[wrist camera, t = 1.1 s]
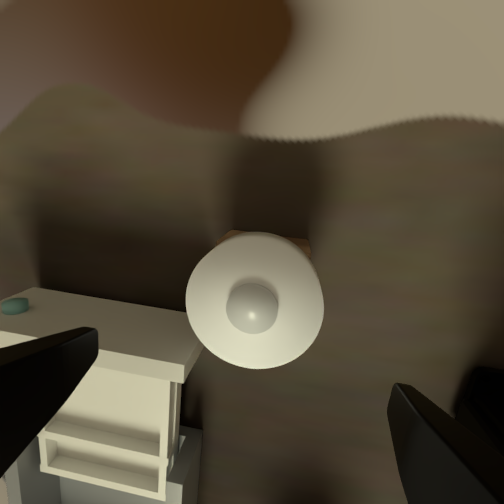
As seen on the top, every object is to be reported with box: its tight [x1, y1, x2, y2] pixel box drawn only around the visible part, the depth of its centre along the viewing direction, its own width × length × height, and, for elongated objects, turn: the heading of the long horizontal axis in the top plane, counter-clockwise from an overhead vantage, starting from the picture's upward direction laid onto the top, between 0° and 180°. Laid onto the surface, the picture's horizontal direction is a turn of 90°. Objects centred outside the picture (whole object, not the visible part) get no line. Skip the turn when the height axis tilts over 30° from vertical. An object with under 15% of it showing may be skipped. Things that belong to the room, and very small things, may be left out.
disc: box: [186, 232, 324, 369], centre depth 14 cm, size 6×6×2 cm
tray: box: [0, 287, 204, 501], centre depth 18 cm, size 12×13×5 cm
